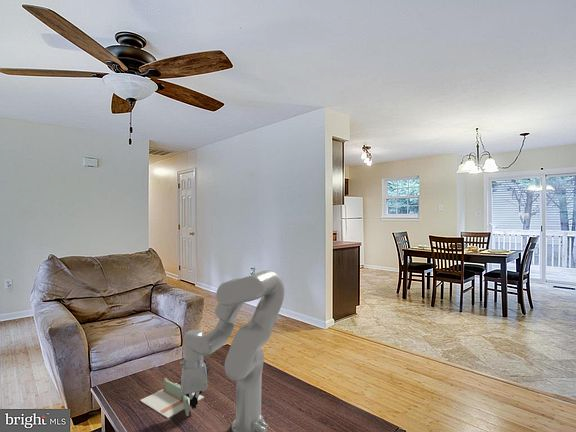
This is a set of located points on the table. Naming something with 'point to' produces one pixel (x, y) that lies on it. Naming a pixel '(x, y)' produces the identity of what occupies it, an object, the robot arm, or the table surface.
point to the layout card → (166, 403)
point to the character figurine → (206, 365)
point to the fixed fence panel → (171, 388)
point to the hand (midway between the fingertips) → (193, 406)
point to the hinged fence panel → (186, 405)
